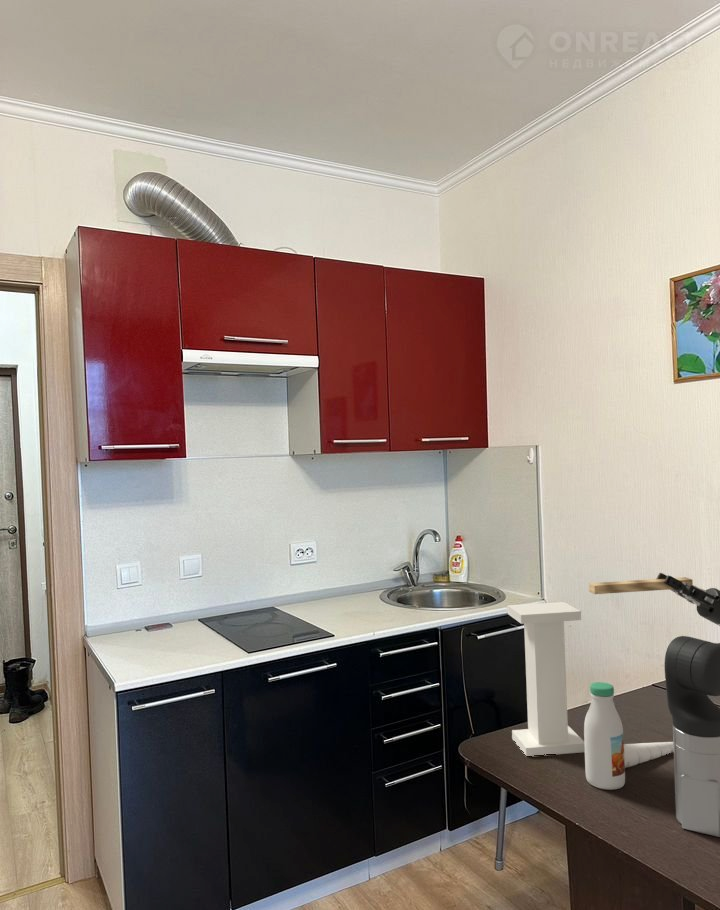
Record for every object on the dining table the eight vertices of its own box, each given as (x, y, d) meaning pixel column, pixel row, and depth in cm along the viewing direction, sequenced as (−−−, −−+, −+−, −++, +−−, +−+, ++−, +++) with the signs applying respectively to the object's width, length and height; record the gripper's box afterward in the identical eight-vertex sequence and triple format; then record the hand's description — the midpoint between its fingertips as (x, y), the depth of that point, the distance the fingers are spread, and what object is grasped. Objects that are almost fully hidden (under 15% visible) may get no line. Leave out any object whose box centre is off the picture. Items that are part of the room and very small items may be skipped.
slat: (685, 585, 165) (685, 577, 165) (692, 588, 162) (692, 579, 162) (589, 591, 163) (589, 583, 163) (594, 594, 160) (594, 585, 160)
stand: (568, 734, 166) (563, 601, 165) (586, 752, 156) (580, 611, 156) (512, 738, 164) (507, 605, 164) (526, 756, 154) (520, 615, 154)
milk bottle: (600, 793, 137) (596, 693, 137) (578, 776, 144) (574, 681, 144) (633, 787, 139) (629, 688, 139) (610, 770, 146) (606, 677, 146)
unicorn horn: (706, 751, 154) (705, 730, 154) (621, 773, 146) (621, 751, 146) (689, 743, 158) (688, 723, 158) (606, 764, 150) (605, 742, 150)
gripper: (712, 590, 171) (653, 559, 170) (749, 602, 157) (686, 568, 156) (699, 617, 171) (640, 586, 169) (735, 631, 157) (671, 598, 155)
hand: (662, 577), depth 163 cm, fingers closed on slat, 3 cm apart
